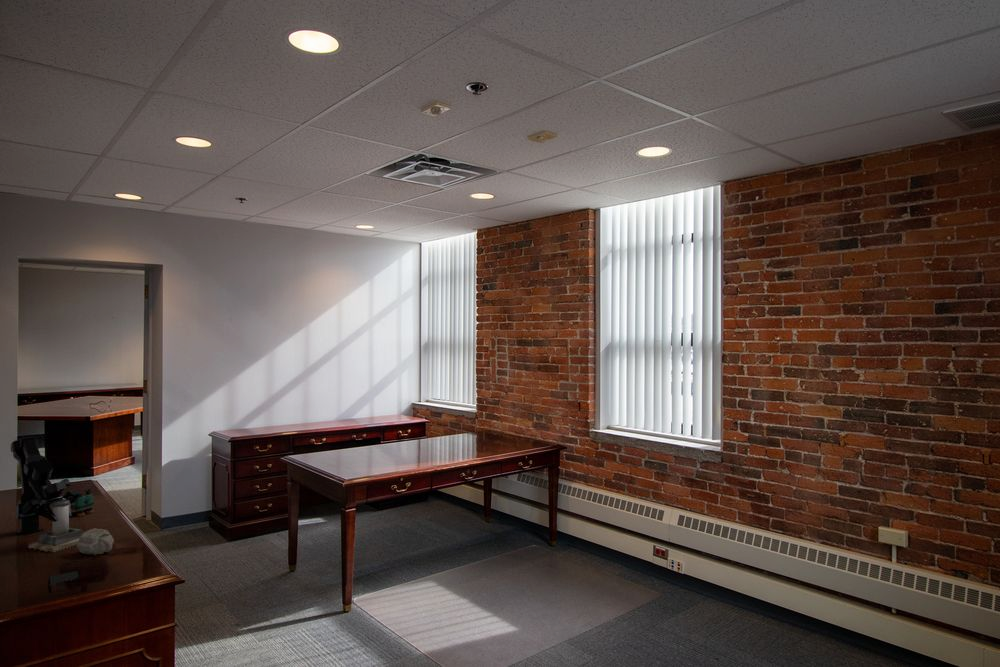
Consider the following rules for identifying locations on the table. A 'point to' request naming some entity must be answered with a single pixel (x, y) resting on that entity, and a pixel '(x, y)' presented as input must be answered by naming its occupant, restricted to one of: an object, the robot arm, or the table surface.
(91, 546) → the fossil replica
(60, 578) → the phone
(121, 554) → the table surface
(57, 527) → the tube
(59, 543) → the collar
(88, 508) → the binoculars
